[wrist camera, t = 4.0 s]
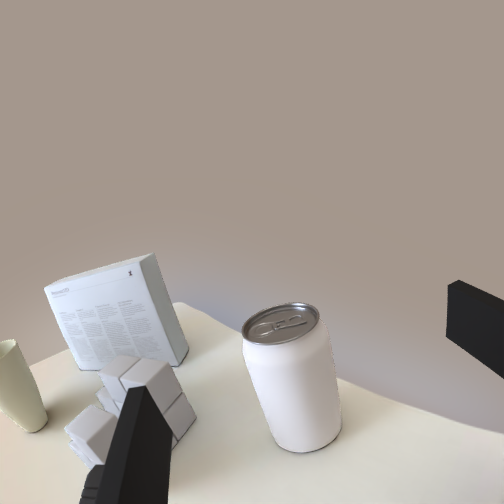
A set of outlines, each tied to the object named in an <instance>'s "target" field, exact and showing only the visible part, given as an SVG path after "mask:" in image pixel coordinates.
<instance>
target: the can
mask: <svg viewBox="0 0 504 504" xmlns="http://www.w3.org/2000/svg"><path fill="white" fill-rule="evenodd" d="M242 335H243V337H244V340H243V346H242V352H243V356H244V359H245V363H246V366H247V368H248V371H249V374H250V377H251V380H252V383H253V385H254V388H255V391H256V394H257V396H258V399H259V402H260V404H261V407H262V410H263V412H264V415H265V418H266V420H267V423H268V425H269V428H270V430H271V433H272V435H273V437H274V439H275V441H276V443H277V444H278V445H279V446H280V447H282V448H284V449H286V450H289V451H292V452H310V451H314V450H317V449H320V448H322V447H324V446H326V445H327V444H329V443H330V442H331V441H332V440H333V439H334V438H335V437H336V436H337V435H338V433H339V431H340V429H341V425H342V417H341V408H340V400H339V393H338V386H337V379H336V373H335V366H334V360H333V355H332V348H331V343H330V338H329V333H328V330H327V327H326V326H325V324H324V323H323V322H322V320H321V319H320V318H319V312H318V310H317V309H316V308H315V307H313V306H312V305H309V304H305V303H285V304H280V305H275V306H272V307H269V308H266V309H264V310H262V311H260V312H258V313H256V314H255V315H253V316H252V317H251V318H249V319H248V320H247V321H246V322H245V323H244V325H243V327H242Z"/></svg>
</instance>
